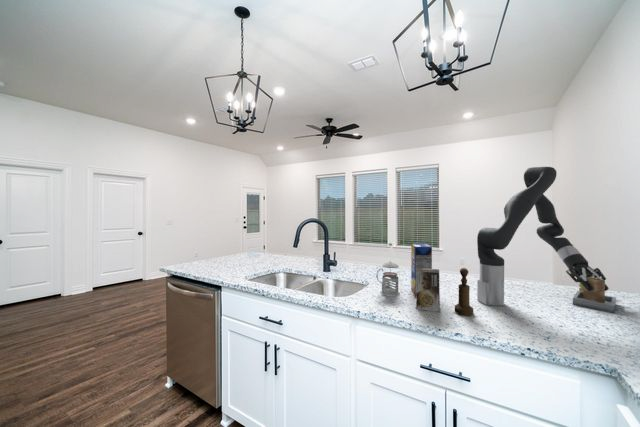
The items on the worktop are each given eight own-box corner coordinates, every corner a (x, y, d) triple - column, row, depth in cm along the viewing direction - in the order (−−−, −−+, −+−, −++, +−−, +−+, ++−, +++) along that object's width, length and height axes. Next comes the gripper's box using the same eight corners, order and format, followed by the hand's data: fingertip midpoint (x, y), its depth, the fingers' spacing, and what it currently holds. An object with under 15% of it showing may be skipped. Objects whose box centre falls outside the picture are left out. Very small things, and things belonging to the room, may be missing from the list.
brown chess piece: (471, 311, 108) (471, 267, 107) (475, 317, 102) (475, 270, 101) (453, 309, 110) (453, 266, 110) (456, 314, 104) (456, 269, 103)
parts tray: (614, 312, 105) (614, 305, 105) (572, 304, 114) (572, 297, 114) (615, 304, 115) (616, 297, 115) (577, 297, 124) (577, 290, 124)
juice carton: (411, 289, 137) (411, 243, 137) (426, 290, 136) (426, 243, 135) (415, 296, 125) (415, 246, 125) (431, 297, 124) (431, 247, 124)
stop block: (594, 304, 112) (594, 280, 112) (583, 300, 117) (583, 278, 117) (604, 303, 112) (604, 280, 112) (593, 300, 117) (593, 277, 117)
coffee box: (439, 306, 112) (439, 269, 112) (439, 312, 107) (439, 272, 106) (417, 303, 116) (417, 267, 116) (415, 308, 110) (415, 270, 110)
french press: (403, 296, 126) (403, 244, 126) (378, 296, 126) (378, 244, 126) (397, 290, 136) (397, 241, 135) (374, 290, 136) (374, 241, 136)
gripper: (562, 253, 121) (589, 286, 110) (592, 252, 122) (622, 285, 110) (551, 262, 127) (576, 294, 115) (580, 262, 127) (608, 294, 116)
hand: (598, 290), depth 113 cm, fingers open, 6 cm apart
